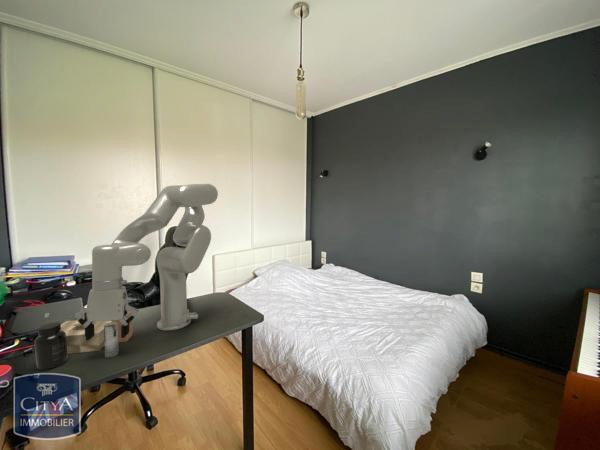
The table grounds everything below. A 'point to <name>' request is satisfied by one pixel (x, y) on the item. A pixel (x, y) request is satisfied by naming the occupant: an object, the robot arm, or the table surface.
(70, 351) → the socket block
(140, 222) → the robot arm
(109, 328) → the round metal bit
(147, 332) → the table surface
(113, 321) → the square rust bit
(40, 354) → the supplement bottle
